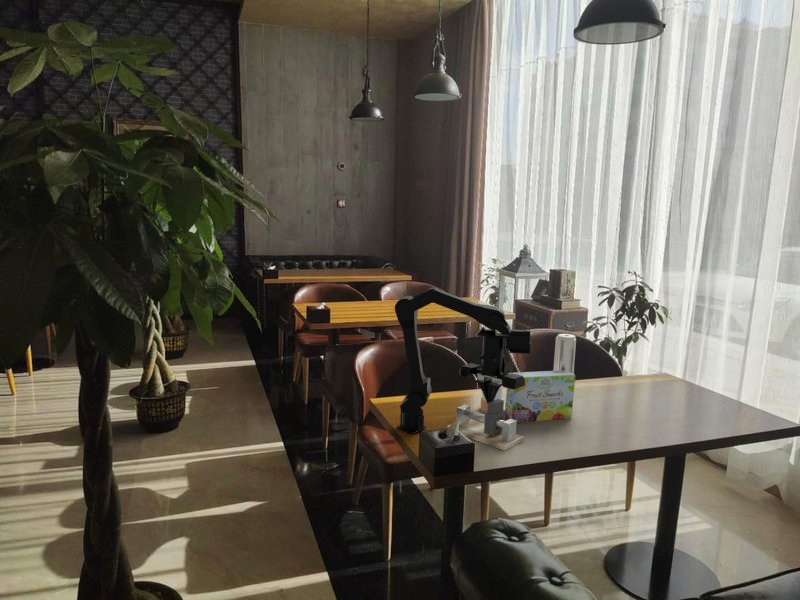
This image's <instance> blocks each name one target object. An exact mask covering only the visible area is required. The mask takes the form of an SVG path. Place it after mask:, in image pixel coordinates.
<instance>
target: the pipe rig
mask: <svg viewBox="0 0 800 600" xmlns="http://www.w3.org/2000/svg"><path fill="white" fill-rule="evenodd" d="M455 415H456V417H455V419H456V421H457V420H458V421H459V426H463V425H466V424H468V423H469V421H470V419H473V420H476V421H479V422H482V423H485V413H481V412H477V411H475V410H471V405H467V404H462V405H460V406H457V407H456V414H455ZM456 421H455V422H456ZM517 424H518V423H517V421H516V420H513V419H509V420H507V419H506V420H505V421H503V420H499V419H497V422H496V426H498V427H501V428H502V441H505V442H510V441H511V440H513V439H515V438H516V434H517Z"/></svg>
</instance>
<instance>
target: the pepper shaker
mask: <svg viewBox="0 0 800 600" xmlns="http://www.w3.org/2000/svg"><path fill="white" fill-rule="evenodd" d="M495 377H497V376H495ZM503 393H504V386H503V385H502V386H501V387H500V388H499V390H498V392H497V394H496V396H495V398H494V400H496V399H500V400H504V399H503ZM481 394H482V396H481V398H480V410H481V411H482V412H485V413H486V412H488V404H487V401H486V399H485V397H484V394H483V392H482V393H481Z"/></svg>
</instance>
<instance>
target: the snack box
mask: <svg viewBox="0 0 800 600" xmlns="http://www.w3.org/2000/svg"><path fill="white" fill-rule="evenodd" d="M512 373H514V374H518V375H522V376H523V377H524V379H525V386H522V387H520V388H517V389H509V388H506V391H505V392H506V395H505V405H504V407H505V409H504V410H505V411H506V413H505V420H506V421H507V420H509V419H513V420H516V421H517V423H516V424H520V423H531V422H533V423H535V421H536V422H547V421H548V420H550V421H561V419H564V420H571V419H572V415H573V414H572V413H573V407H574V406H573V404H574V403H573V402H574V394H575V383H576V374H575V373H574V374H573V373H571V372H569V371H567V370H560V371H553V370H544V371H543V370H541V371H525V372H524V371H523V372H520V371H519V372H512ZM512 373H509V372H507V375H509V374H512ZM548 422H549V421H548Z"/></svg>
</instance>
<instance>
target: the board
mask: <svg viewBox="0 0 800 600" xmlns="http://www.w3.org/2000/svg"><path fill="white" fill-rule="evenodd" d="M484 423H485V422H482V421H479V420H476V419H473V418H470V421H469V423H468V424H466V425H463V426H459V429H460V431H462V432H463V433H464V434H466V435H467V436H468V437H469V438H468V437H467V438H468V439H471V440H474V441H477V442H480V443H482V444H485V445H488V446H491V447H494V448H497V449H499V450H502V451H504V452H505V451H507V450H509V449H511V448H513V447H514V446H517V445H518V444H520V443H522V442H524V441H525V436H523V435H520V434H517V433H516V438H515V439H513V440H511V441H510V442H505V441H502V432H500V433H498V434H496V435H494V436H491V435H488V434H485V433H484ZM450 425H451V424H449V425H447V426H446V428H447V427H449V426H450Z"/></svg>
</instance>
